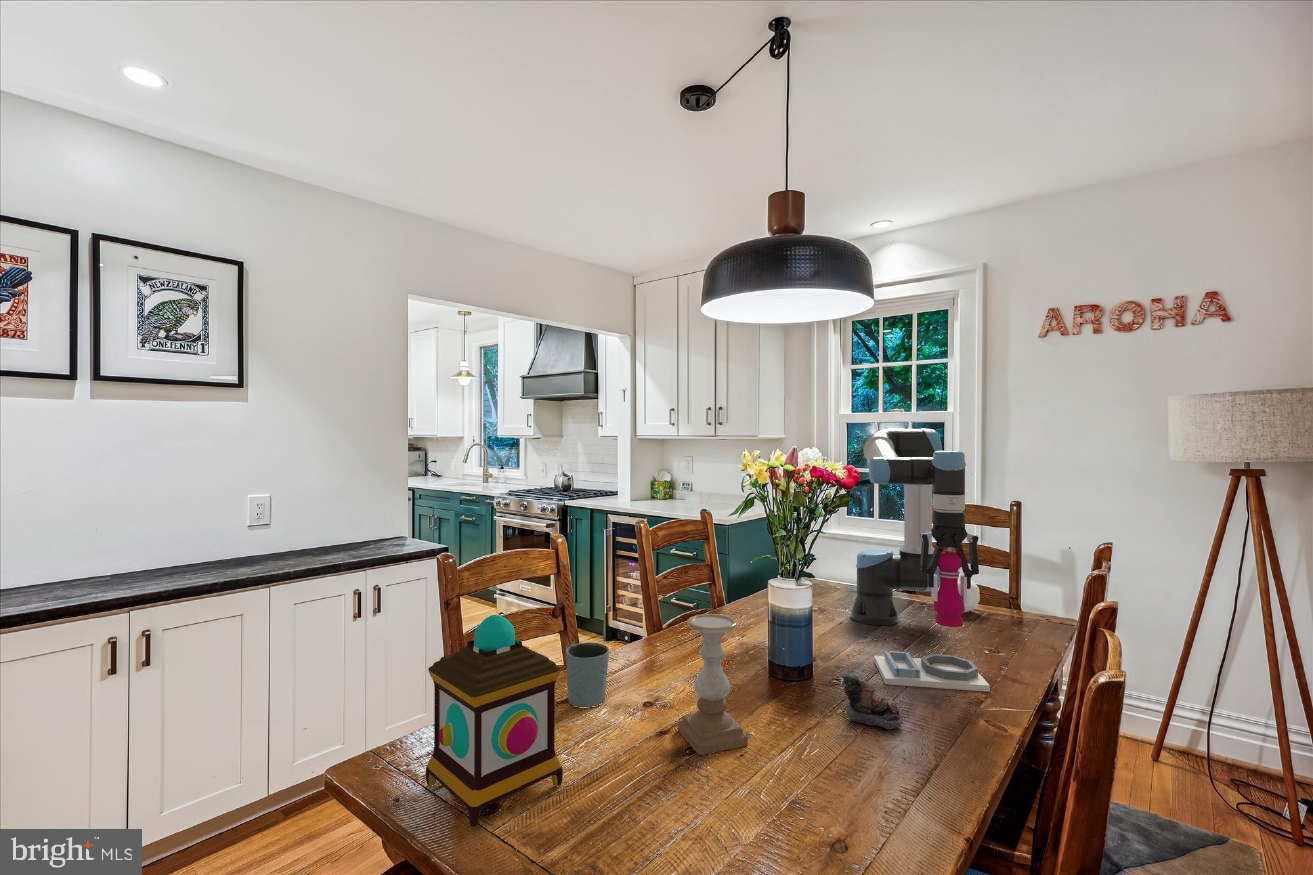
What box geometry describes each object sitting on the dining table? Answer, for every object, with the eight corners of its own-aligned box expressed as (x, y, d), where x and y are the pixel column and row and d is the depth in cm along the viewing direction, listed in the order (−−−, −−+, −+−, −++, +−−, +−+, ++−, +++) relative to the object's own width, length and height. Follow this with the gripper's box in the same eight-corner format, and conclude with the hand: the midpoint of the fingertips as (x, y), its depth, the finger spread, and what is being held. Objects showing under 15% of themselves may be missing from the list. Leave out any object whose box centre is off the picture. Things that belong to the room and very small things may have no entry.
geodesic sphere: (996, 602, 204) (980, 565, 212) (959, 603, 202) (944, 566, 210) (974, 618, 215) (959, 582, 223) (939, 619, 213) (925, 583, 222)
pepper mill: (958, 619, 157) (957, 543, 157) (969, 628, 150) (969, 548, 150) (929, 619, 158) (929, 543, 158) (939, 627, 151) (939, 547, 151)
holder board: (874, 660, 165) (874, 648, 165) (968, 667, 161) (968, 654, 161) (885, 684, 149) (885, 670, 149) (989, 691, 145) (989, 677, 145)
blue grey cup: (583, 688, 146) (583, 639, 146) (617, 697, 141) (618, 646, 141) (556, 704, 138) (556, 652, 138) (591, 714, 132) (591, 660, 133)
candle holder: (676, 730, 125) (676, 616, 125) (723, 721, 129) (723, 610, 129) (698, 756, 115) (698, 631, 115) (749, 746, 119) (749, 625, 119)
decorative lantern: (414, 785, 105) (414, 614, 105) (513, 745, 119) (514, 594, 119) (468, 839, 91) (469, 641, 91) (574, 786, 105) (574, 615, 105)
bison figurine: (901, 722, 129) (901, 675, 129) (903, 737, 123) (903, 688, 123) (843, 713, 133) (843, 668, 133) (841, 728, 127) (841, 680, 127)
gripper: (912, 511, 152) (912, 602, 152) (994, 513, 149) (995, 606, 149) (905, 508, 160) (906, 595, 160) (984, 510, 156) (984, 598, 156)
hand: (948, 600), depth 154 cm, fingers closed on pepper mill, 6 cm apart
